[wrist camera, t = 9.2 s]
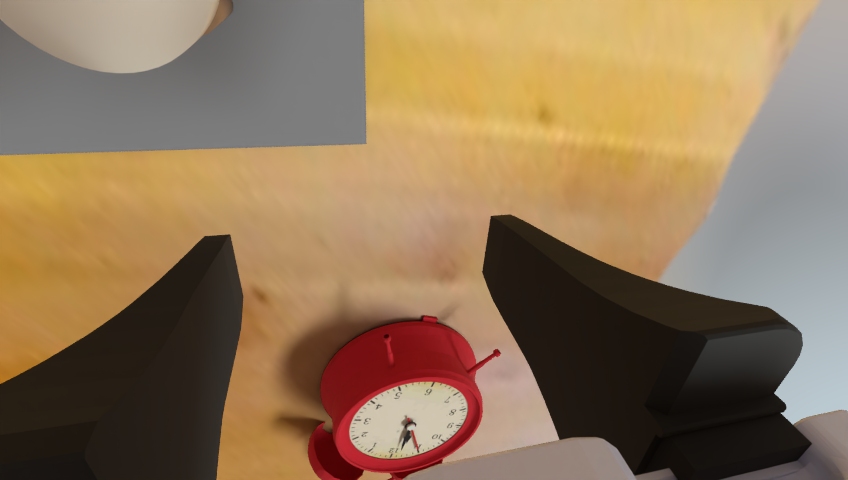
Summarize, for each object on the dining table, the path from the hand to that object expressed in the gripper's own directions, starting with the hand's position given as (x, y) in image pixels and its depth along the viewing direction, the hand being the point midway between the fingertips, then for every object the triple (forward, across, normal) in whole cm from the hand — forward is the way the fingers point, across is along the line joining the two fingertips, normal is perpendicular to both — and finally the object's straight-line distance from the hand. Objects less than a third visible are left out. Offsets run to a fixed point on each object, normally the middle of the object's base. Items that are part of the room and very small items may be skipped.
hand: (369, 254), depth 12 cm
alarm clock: (+10, -2, +18) cm, 21 cm away
